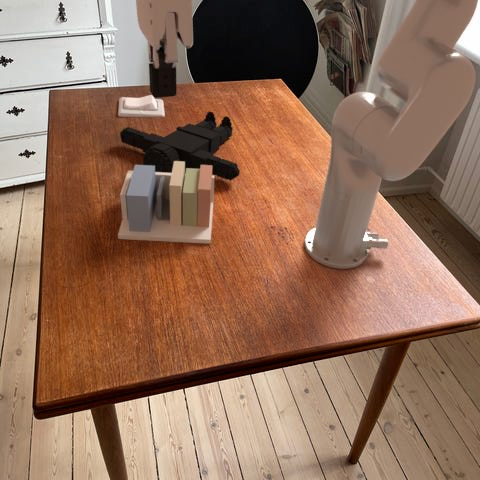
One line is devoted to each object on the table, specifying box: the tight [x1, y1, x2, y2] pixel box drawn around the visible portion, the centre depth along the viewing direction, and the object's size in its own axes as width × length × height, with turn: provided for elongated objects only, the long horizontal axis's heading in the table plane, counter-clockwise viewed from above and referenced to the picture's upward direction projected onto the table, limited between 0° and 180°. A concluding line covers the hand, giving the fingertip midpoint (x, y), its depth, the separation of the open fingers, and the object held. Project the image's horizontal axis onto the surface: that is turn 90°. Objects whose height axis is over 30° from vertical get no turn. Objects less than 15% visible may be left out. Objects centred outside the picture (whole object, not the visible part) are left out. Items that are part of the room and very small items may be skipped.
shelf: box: [117, 161, 216, 245], centre depth 99 cm, size 18×14×10 cm
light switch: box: [117, 94, 166, 118], centre depth 142 cm, size 11×4×13 cm
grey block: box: [126, 164, 156, 232], centre depth 99 cm, size 4×11×8 cm, turn 1°
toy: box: [119, 110, 240, 181], centre depth 122 cm, size 33×8×30 cm
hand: (163, 94), depth 66 cm, fingers closed
